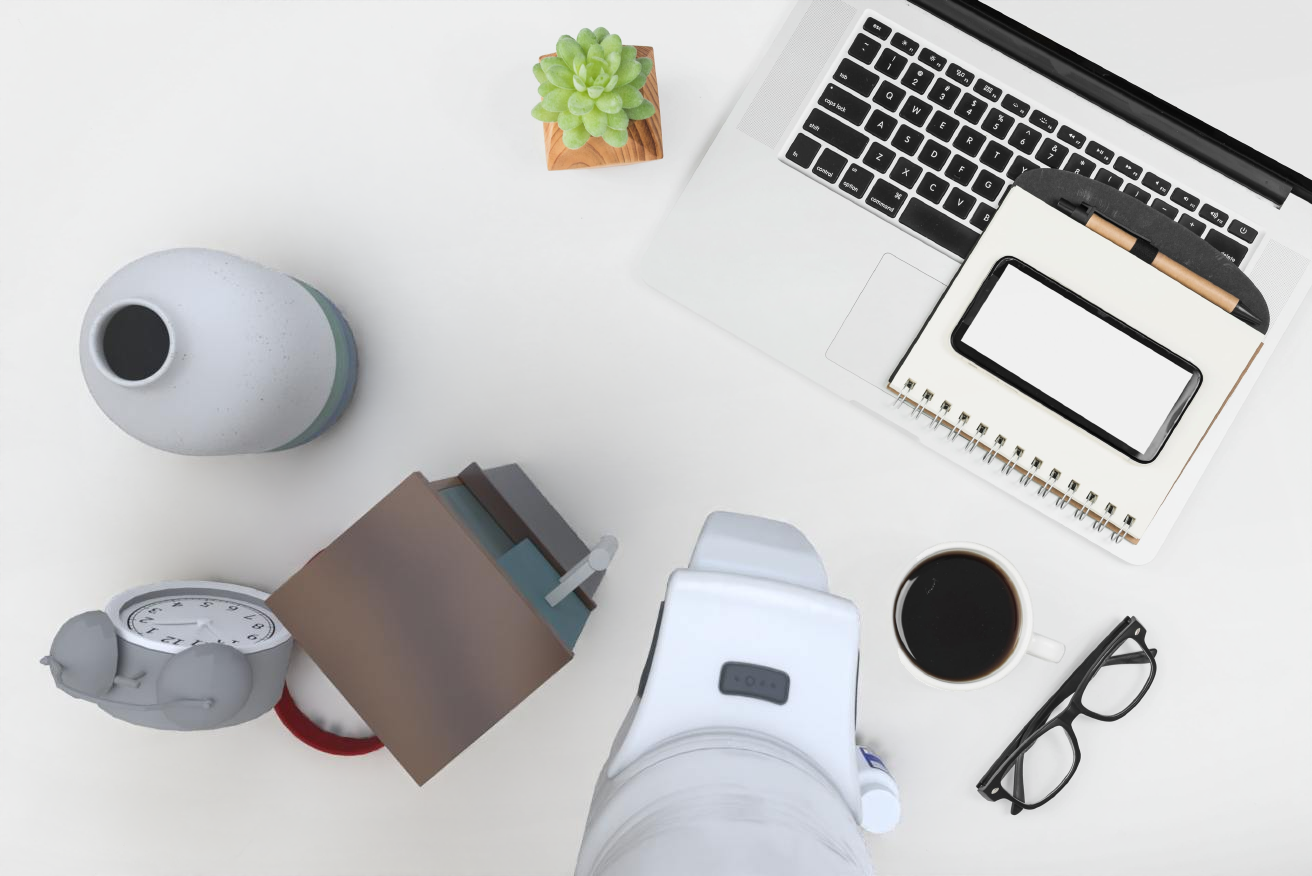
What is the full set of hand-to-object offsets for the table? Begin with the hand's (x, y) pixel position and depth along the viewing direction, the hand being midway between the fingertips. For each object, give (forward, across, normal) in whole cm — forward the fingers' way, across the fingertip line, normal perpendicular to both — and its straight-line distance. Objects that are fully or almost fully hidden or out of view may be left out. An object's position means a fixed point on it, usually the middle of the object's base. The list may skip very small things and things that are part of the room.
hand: (706, 703), depth 41 cm
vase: (+41, +12, +43) cm, 61 cm away
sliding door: (+19, +3, +9) cm, 21 cm away
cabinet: (+41, -2, +17) cm, 45 cm away
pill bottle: (+41, -17, -19) cm, 49 cm away
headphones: (+41, -14, +32) cm, 54 cm away
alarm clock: (+41, -14, +43) cm, 61 cm away
